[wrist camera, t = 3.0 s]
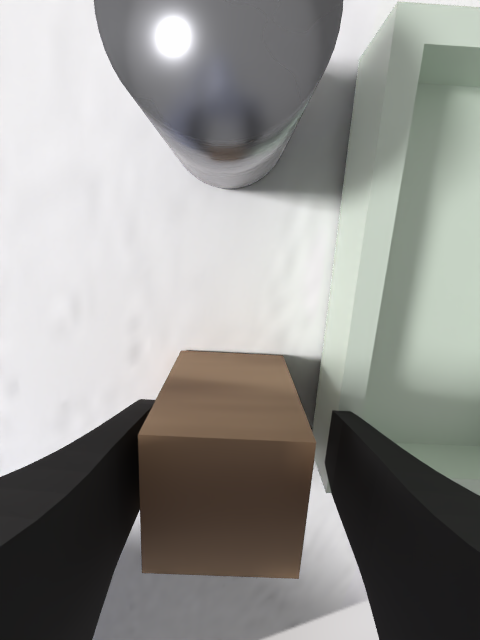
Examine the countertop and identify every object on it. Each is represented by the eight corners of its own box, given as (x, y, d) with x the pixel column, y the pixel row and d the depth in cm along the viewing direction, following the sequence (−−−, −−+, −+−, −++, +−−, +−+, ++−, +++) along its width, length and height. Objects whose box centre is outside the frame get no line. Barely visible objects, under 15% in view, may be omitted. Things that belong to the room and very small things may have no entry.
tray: (496, 455, 14) (552, 502, 11) (310, 446, 13) (326, 492, 11) (608, 75, 10) (725, 24, 8) (359, 59, 10) (398, 1, 8)
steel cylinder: (284, 191, 11) (327, 147, 6) (167, 185, 11) (99, 132, 6) (295, 55, 10) (360, -155, 5) (167, 47, 10) (85, -177, 5)
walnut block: (274, 444, 13) (298, 578, 8) (180, 440, 13) (141, 573, 8) (282, 355, 12) (316, 442, 7) (181, 350, 12) (138, 434, 7)
